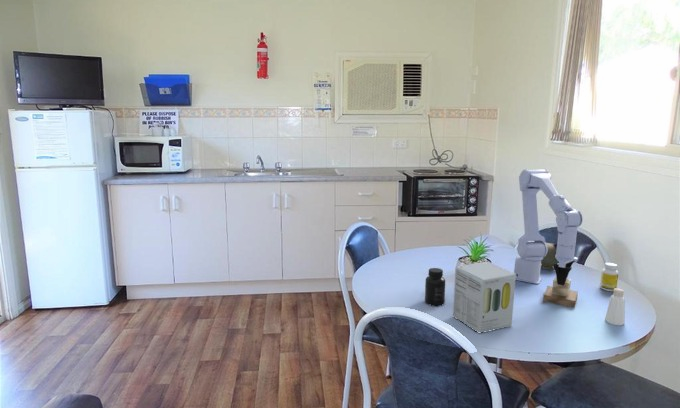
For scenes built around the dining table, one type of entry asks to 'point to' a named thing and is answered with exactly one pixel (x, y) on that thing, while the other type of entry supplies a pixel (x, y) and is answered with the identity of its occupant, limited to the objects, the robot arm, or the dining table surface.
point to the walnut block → (560, 298)
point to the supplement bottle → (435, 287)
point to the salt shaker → (616, 308)
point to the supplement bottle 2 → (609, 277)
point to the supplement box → (484, 296)
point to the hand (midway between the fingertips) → (562, 281)
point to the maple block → (561, 288)
